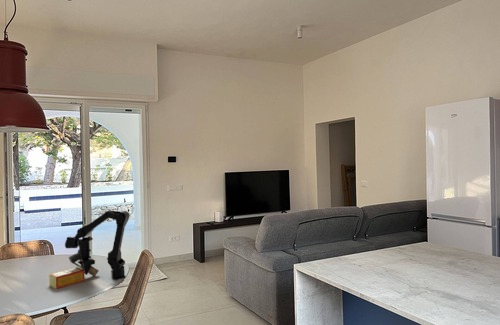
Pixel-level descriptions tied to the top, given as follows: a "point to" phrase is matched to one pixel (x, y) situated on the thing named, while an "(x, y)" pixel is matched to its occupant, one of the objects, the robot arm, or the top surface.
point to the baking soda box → (66, 277)
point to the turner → (91, 270)
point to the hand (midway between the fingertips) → (85, 273)
